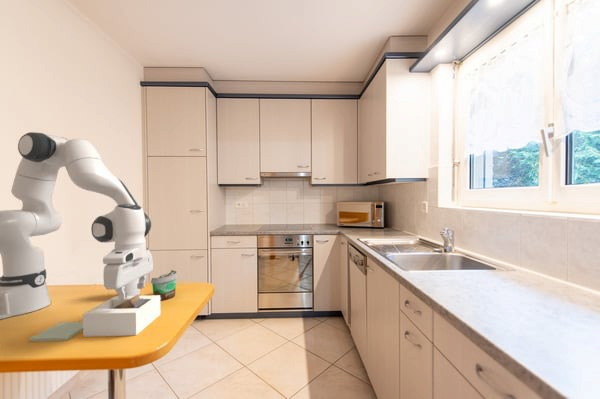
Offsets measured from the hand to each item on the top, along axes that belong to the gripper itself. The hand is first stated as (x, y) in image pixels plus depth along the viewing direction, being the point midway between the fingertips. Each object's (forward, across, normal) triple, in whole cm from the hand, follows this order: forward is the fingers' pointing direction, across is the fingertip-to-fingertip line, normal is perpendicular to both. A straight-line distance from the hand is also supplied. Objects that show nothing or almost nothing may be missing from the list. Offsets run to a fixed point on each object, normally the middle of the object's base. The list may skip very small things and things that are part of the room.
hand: (132, 293), depth 85 cm
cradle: (+7, 0, -3) cm, 7 cm away
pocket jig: (+10, 0, -3) cm, 11 cm away
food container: (+11, -23, 0) cm, 25 cm away
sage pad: (+10, +4, -20) cm, 23 cm away
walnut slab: (+6, 0, -3) cm, 7 cm away
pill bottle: (+10, -25, -18) cm, 32 cm away
